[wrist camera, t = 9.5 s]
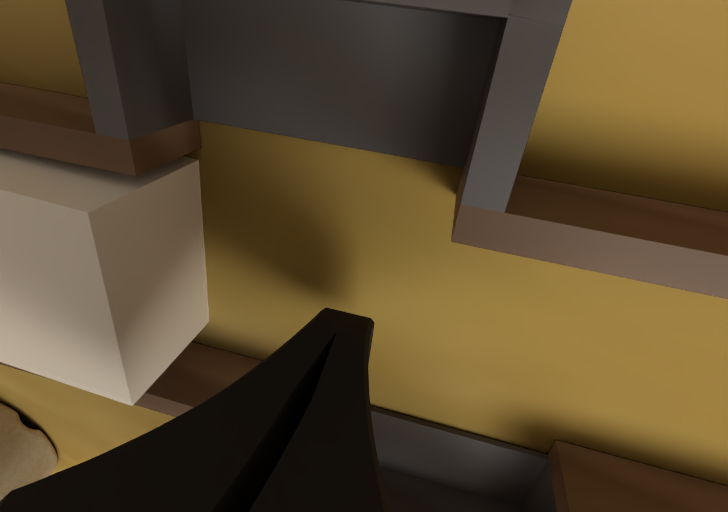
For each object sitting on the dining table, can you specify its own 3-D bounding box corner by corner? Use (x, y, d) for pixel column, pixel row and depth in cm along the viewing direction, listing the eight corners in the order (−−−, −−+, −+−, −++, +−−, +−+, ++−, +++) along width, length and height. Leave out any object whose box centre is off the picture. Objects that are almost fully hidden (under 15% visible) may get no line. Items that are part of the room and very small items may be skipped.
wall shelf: (711, 572, 14) (761, 687, 12) (69, 380, 18) (5, 436, 16) (1350, 60, 6) (2021, 85, 3) (-115, -95, 10) (-320, -138, 7)
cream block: (212, 318, 15) (132, 406, 11) (68, 276, 15) (-47, 346, 12) (202, 158, 11) (87, 213, 8) (22, 114, 12) (-152, 147, 9)
